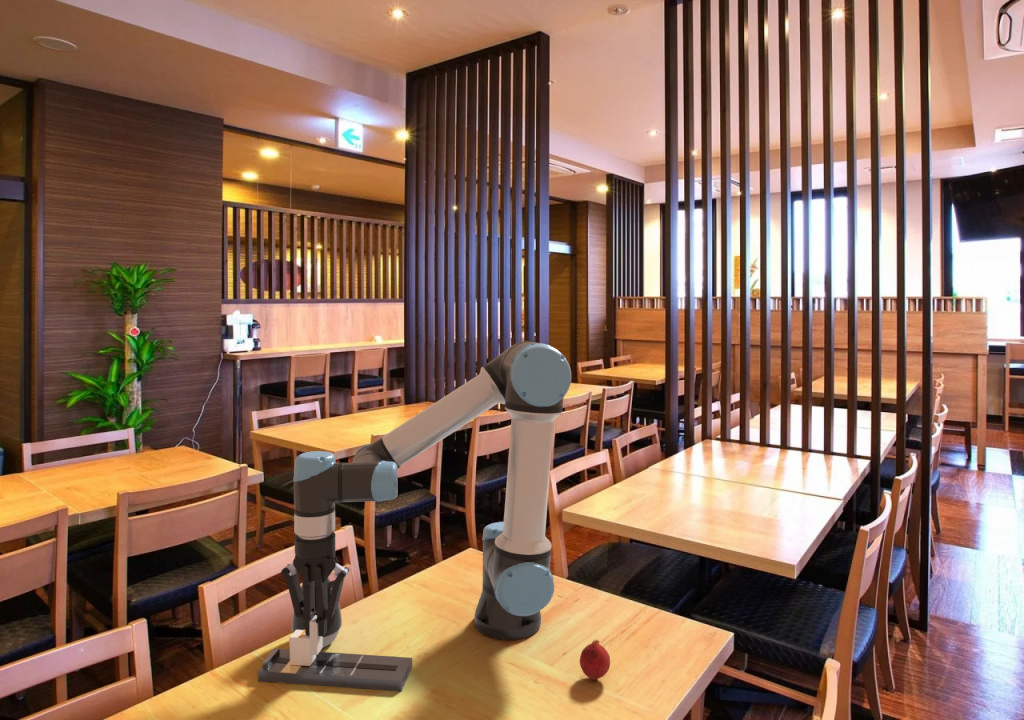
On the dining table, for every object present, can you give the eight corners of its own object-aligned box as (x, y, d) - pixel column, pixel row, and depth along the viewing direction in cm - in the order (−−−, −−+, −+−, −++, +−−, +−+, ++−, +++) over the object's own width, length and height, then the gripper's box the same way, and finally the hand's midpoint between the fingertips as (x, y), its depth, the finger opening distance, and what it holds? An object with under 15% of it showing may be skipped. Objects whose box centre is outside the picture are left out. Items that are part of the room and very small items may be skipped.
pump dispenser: (328, 658, 130) (327, 586, 128) (282, 652, 132) (281, 581, 130) (351, 633, 140) (350, 566, 138) (307, 628, 142) (306, 562, 140)
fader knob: (316, 657, 126) (315, 630, 125) (309, 665, 123) (309, 638, 123) (296, 656, 126) (296, 629, 126) (289, 664, 123) (289, 636, 123)
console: (412, 667, 127) (412, 653, 127) (401, 691, 119) (401, 675, 119) (277, 658, 129) (277, 644, 129) (258, 681, 122) (257, 666, 121)
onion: (601, 692, 119) (603, 651, 119) (574, 682, 122) (575, 642, 122) (614, 677, 124) (615, 637, 124) (587, 668, 127) (588, 629, 127)
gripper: (354, 527, 125) (355, 643, 127) (291, 524, 127) (292, 639, 128) (340, 541, 118) (341, 663, 120) (273, 538, 119) (275, 659, 121)
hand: (316, 650), depth 124 cm, fingers closed
